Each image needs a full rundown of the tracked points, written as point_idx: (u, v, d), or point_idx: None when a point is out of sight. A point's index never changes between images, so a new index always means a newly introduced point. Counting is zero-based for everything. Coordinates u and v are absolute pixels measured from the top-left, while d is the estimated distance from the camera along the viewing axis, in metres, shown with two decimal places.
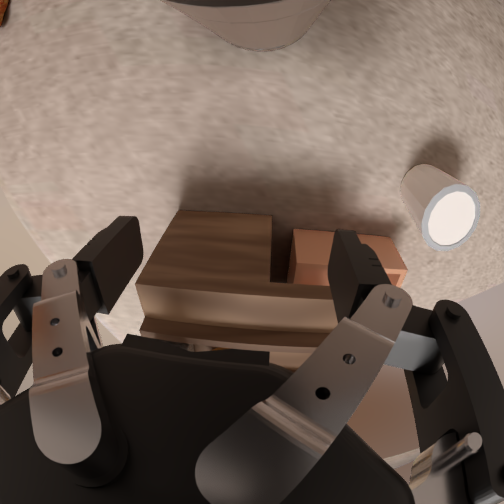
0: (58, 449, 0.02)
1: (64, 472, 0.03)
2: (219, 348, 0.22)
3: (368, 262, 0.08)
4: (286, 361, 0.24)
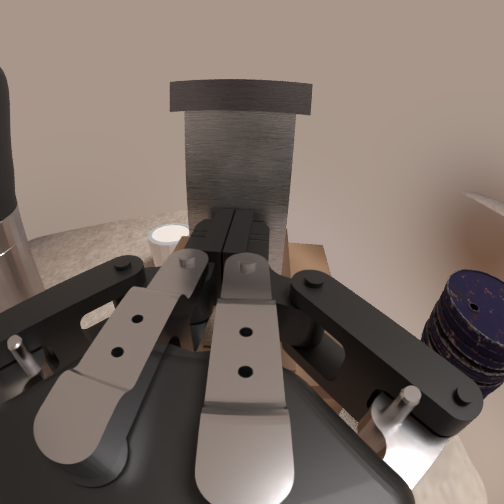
0: (58, 449, 0.02)
1: (64, 472, 0.03)
2: None
3: (245, 235, 0.10)
4: None
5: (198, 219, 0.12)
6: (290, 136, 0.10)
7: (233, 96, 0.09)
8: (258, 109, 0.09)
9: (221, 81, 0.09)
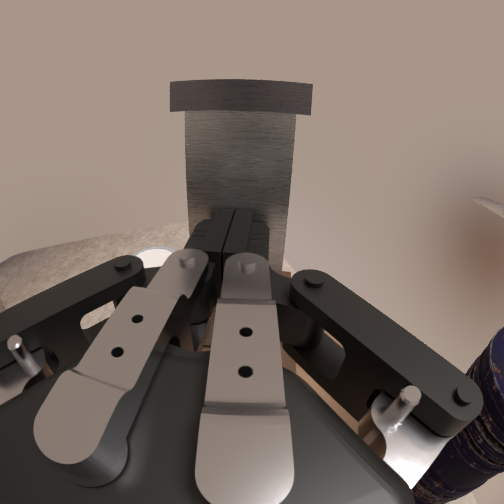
0: (58, 449, 0.02)
1: (64, 472, 0.03)
2: None
3: (245, 235, 0.10)
4: None
5: (198, 219, 0.12)
6: (290, 136, 0.10)
7: (234, 96, 0.09)
8: (258, 109, 0.09)
9: (221, 81, 0.09)
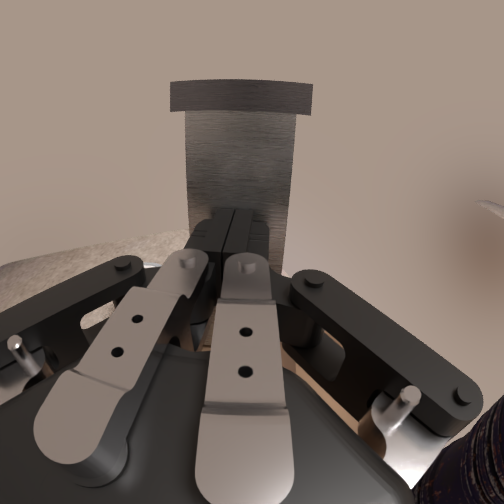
0: (58, 449, 0.02)
1: (64, 472, 0.03)
2: None
3: (245, 235, 0.10)
4: None
5: (198, 219, 0.12)
6: (290, 136, 0.10)
7: (234, 96, 0.09)
8: (258, 109, 0.09)
9: (221, 81, 0.09)
